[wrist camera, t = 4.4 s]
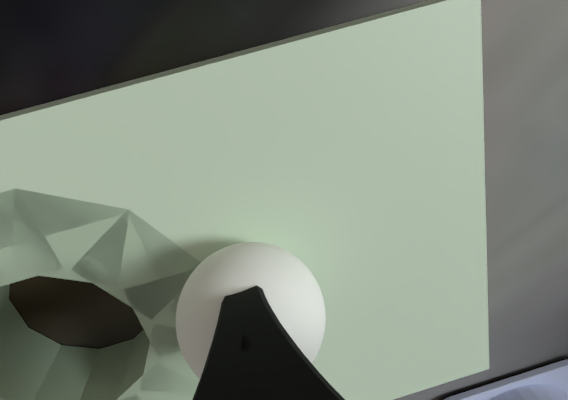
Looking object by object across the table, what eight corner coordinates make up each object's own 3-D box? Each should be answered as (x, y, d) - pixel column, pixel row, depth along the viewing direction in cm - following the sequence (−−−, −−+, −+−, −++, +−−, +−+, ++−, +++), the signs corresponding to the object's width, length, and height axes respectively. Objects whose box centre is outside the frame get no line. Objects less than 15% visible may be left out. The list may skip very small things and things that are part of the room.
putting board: (449, 319, 18) (489, 368, 16) (37, 447, 18) (4, 523, 15) (424, 1, 13) (480, -9, 10) (-190, 166, 12) (-314, 205, 9)
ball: (323, 445, 9) (157, 430, 9) (329, 342, 12) (212, 337, 13) (319, 278, 8) (135, 275, 8) (327, 224, 12) (201, 224, 12)
